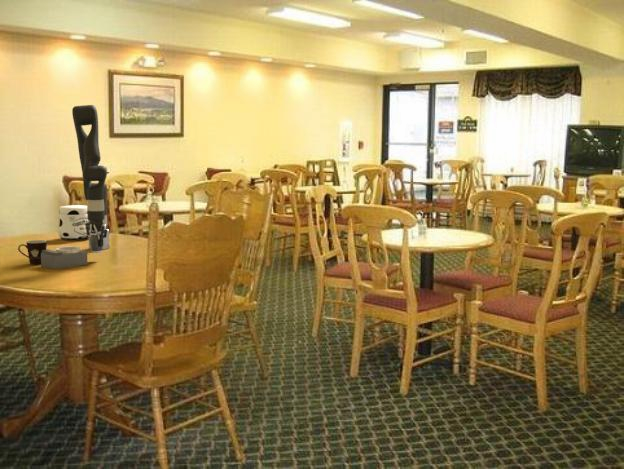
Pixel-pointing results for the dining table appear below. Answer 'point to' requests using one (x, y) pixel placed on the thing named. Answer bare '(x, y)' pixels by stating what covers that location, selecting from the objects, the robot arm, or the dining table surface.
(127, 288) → the dining table surface
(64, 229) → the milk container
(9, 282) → the dining table surface
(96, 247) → the lens
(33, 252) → the coffee mug
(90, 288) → the dining table surface
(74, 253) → the camera body
